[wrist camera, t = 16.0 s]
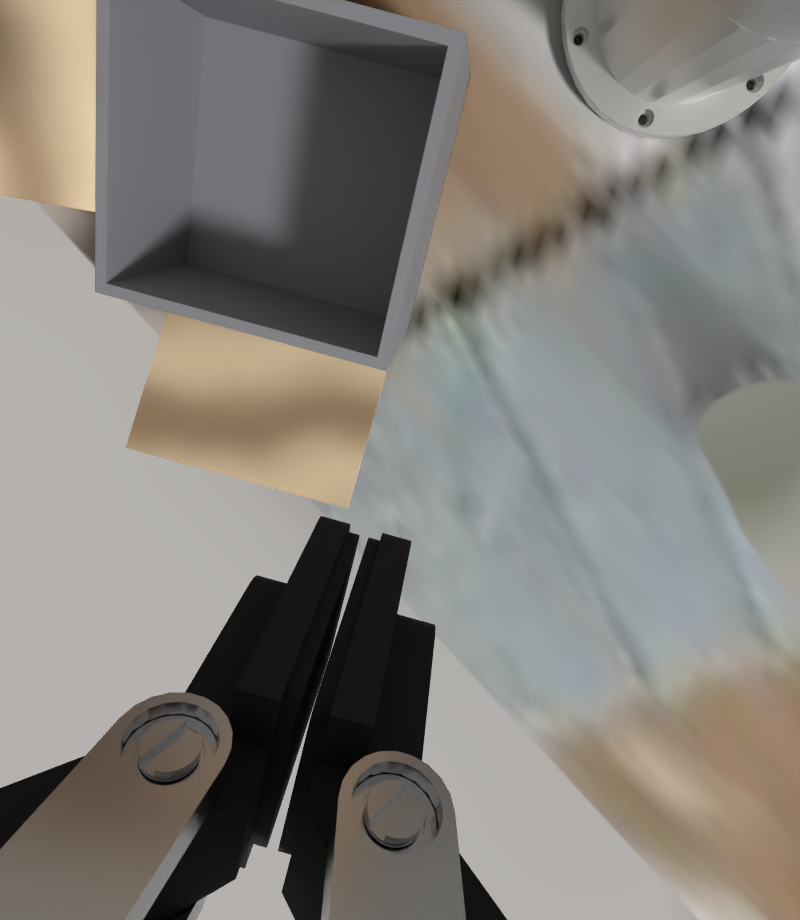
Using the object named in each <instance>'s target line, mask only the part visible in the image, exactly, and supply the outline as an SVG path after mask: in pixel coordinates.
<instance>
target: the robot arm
mask: <svg viewBox="0 0 800 920" xmlns="http://www.w3.org/2000/svg"><path fill="white" fill-rule="evenodd" d="M561 25H562V43H563V48H564V53H565V58H566V63H567V66H568V69H569V71H570V74H571V76H572V79H573V81H574V84H575V86H576V88H577V89H578V91H579V92H580V94H581V95H582V97H583V98H584V100H585V101H586V103H587V104H588V106H590V107H591V108H592V109H593V110H594V111H595V112H596V113H597V114H598V115H599V116H600V117H601V118H602V119H603V120H604V121H606V122H608V123H609V124H611V125H613V126H614V127H616V128H618V129H619V130H621V131H624V132H627V133H630V134H633V135H636V136H639V137H644V138H655V139H669V138H678V137H686V136H689V135H692V134H697V133H701V132H703V131H706V130H708V129H711V128H713V127H716V126H718V125H720V124H723V123H725V122H727V121H728V120H730V119H731V118H733V117H735V116H736V115H738V114H739V113H741V112H743V111H744V110H746V109H747V108H749V107H750V106H751V105H752V104H753V103H755V102H756V101H757V100H758V99H759V98H761V97H762V96H763V95H764V94H765V93H766V92H767V91H768V90H769V89H770V88H771V87H772V85H773V84H774V83H775V82H776V81H777V80H778V78H779V77H780V76H781V75H782V74H783V73H784V72H785V70H786V69H787V68H788V66H789V65H790V63H791V62H794V61H796V60H799V59H800V0H563V3H562V11H561ZM576 35H580V36H581V37H582V39H583V40H582V44H580V45H576V44H574V37H575V36H576ZM748 80H750V81H752V83H753V86H752V88H751V90H747V88H746V83H747V81H748ZM640 115H644V116H646V123H645V124H644V125H641V124H639V122H638V119H639V117H640ZM349 530H350V524H348V523H344V522H341V521H337V520H333V519H330V518H326V517H323V516H322V517H320V518H319V520H318V522H317V524H316V526H315V528H314V530H313V532H312V534H311V536H310V539H309V540H308V542H307V544H306V546H305V548H304V550H303V552H302V554H301V556H300V558H299V560H298V562H297V564H296V567H295V569H294V571H293V572H292V575H291V576H290V579H289V581H288V583H287V584H286V583H283V582H279V581H275V580H272V579H268V578H264V577H261V576H255V577H254V578H253V580H252V581H251V582H250V584H249V586H248V587H247V589H246V591H245V592H244V594H243V596H242V598H241V599H240V601H239V602H238V604H237V606H236V608H235V609H234V611H233V613H232V614H231V616H230V618H229V619H228V621H227V623H226V625H225V626H224V628H223V630H222V631H221V633H220V635H219V636H218V638H217V640H216V641H215V643H214V645H213V646H212V648H211V650H210V652H209V653H208V655H207V657H206V658H205V660H204V662H203V663H202V665H201V667H200V668H199V670H198V672H197V674H196V675H195V677H194V679H193V680H192V682H191V684H190V685H189V687H188V689H187V690H186V692H185V693H166V694H162V695H158V696H154V697H151V698H149V699H147V700H145V701H143V702H140V703H138V704H137V705H135V706H133V707H132V708H131V709H130V710H129V711H127V712H126V713H125V714H124V715H123V716H121V717H120V718H119V719H118V720H117V722H116V723H115V724H114V725H113V726H112V727H111V728H110V729H109V730H108V732H107V733H106V734H105V735H104V736H103V737H102V738H101V739H100V740H99V741H98V742H97V744H96V745H95V746H94V747H93V748H92V749H91V750H90V751H89V753H88V754H87V755H86V756H83V757H81V758H78V759H75V760H73V761H70V762H67V763H65V764H62V765H60V766H57V767H54V768H52V769H49V770H47V771H44V772H42V773H39V774H36V775H34V776H31V777H28V778H26V779H23V780H21V781H18V782H15V783H13V784H10V785H8V786H5V787H2V788H0V920H196V919H197V917H198V915H199V913H200V911H201V910H202V907H203V904H204V901H205V899H206V897H207V895H209V894H210V893H212V892H214V891H216V890H217V889H219V888H221V887H223V886H224V885H226V884H227V883H229V882H231V881H233V880H234V879H236V876H237V873H238V871H239V868H240V867H242V868H245V866H246V863H247V860H248V858H249V855H250V852H251V849H252V846H253V844H256V845H259V846H263V847H267V845H268V842H269V839H270V837H271V833H272V830H273V827H274V824H275V821H276V818H277V815H278V812H279V809H280V806H281V803H282V800H283V797H284V794H285V791H286V788H287V785H288V782H289V779H290V775H291V773H292V769H293V766H294V763H295V760H296V757H297V754H298V751H299V748H300V745H301V742H302V738H303V736H304V733H305V729H306V727H307V724H308V720H309V717H310V714H311V711H312V708H313V705H314V702H315V699H316V702H315V705H314V708H313V712H312V715H311V719H310V723H309V727H308V731H307V735H306V739H305V743H304V747H303V751H302V756H301V759H300V763H299V767H298V771H297V775H296V780H295V784H294V788H293V792H292V796H291V800H290V804H289V808H288V812H287V817H286V820H285V824H284V829H283V833H282V837H281V841H280V845H279V849H278V851H280V852H284V853H287V854H291V859H290V863H289V867H288V871H287V874H286V878H285V882H284V886H283V889H282V893H283V896H284V898H285V900H286V902H287V904H288V906H289V908H290V910H291V912H292V914H293V916H294V918H295V920H507V919H506V917H505V916H504V915H503V914H502V912H501V911H500V909H499V908H498V906H497V905H496V904H495V902H494V901H493V900H492V898H491V897H490V895H489V894H488V892H487V891H486V890H485V888H484V887H483V885H482V884H481V883H480V881H479V880H478V878H477V877H476V876H475V874H474V873H473V872H472V870H471V869H470V867H469V866H468V864H467V863H466V862H465V861H464V859H463V858H462V856H461V855H460V853H459V847H458V838H457V828H456V819H455V811H454V807H453V803H452V799H451V795H450V793H449V791H448V790H447V788H446V786H445V784H444V782H443V781H442V779H441V778H440V776H439V775H438V774H437V773H435V771H434V770H433V769H432V768H431V767H430V766H429V765H427V764H426V763H424V762H422V754H423V744H424V735H425V725H426V716H427V706H428V696H429V687H430V678H431V668H432V659H433V649H434V640H435V625H434V624H430V623H427V622H423V621H419V620H416V619H412V618H409V617H405V616H401V615H398V614H397V611H398V606H399V601H400V596H401V591H402V586H403V581H404V576H405V571H406V566H407V561H408V556H409V551H410V546H411V541H409V540H406V539H402V538H399V537H395V536H391V535H388V534H384V533H382V536H381V540H380V541H379V540H375V539H372V538H368V541H367V544H366V547H365V550H364V553H363V557H362V560H361V563H360V566H359V569H358V572H357V575H356V578H355V581H354V584H353V588H352V590H351V593H350V597H349V599H348V603H347V606H346V609H345V612H344V615H343V618H342V621H341V624H340V627H339V630H338V633H337V636H336V639H335V642H334V645H333V641H334V637H335V633H336V628H337V624H338V620H339V617H340V613H341V609H342V605H343V601H344V597H345V593H346V589H347V584H348V581H349V576H350V572H351V568H352V564H353V560H354V556H355V552H356V548H357V544H358V540H359V535H357V534H354V533H350V532H349ZM332 645H333V648H332ZM331 649H332V652H331ZM330 652H331V655H330ZM329 656H330V658H329ZM328 659H329V661H328ZM327 662H328V664H327ZM326 666H327V667H326ZM325 668H326V670H325ZM324 672H325V673H324ZM323 675H324V676H323ZM322 678H323V679H322ZM321 681H322V682H321ZM320 684H321V685H320ZM319 687H320V688H319ZM318 690H319V691H318ZM317 693H318V695H317ZM316 696H317V698H316Z"/></svg>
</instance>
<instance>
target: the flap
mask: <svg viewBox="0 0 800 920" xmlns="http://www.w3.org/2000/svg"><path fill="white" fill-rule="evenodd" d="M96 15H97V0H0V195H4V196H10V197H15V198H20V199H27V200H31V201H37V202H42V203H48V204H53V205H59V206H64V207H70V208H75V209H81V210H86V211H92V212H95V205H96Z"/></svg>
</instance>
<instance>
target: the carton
mask: <svg viewBox="0 0 800 920" xmlns="http://www.w3.org/2000/svg"><path fill="white" fill-rule="evenodd" d="M469 79H470V68H469V57H468V47H467V37H466V32H462V31H459V30H455V29H451V28H447V27H444V26H440V25H436V24H432V23H428V22H425V21H421V20H417V19H413V18H409V17H406V16H402V15H398V14H394V13H390V12H387V11H383V10H379V9H375V8H371V7H368V6H364V5H360V4H356V3H353V2H349V1H345V0H97V15H96V205H95V292H98V293H101V294H105V295H109V296H112V297H116V298H120V299H123V300H127V301H130V302H134V303H138V304H141V305H145V306H149V307H152V308H156V309H160V310H163V311H167V312H171V313H174V314H178V315H182V316H186V317H189V318H193V319H197V320H200V321H204V322H208V323H211V324H215V325H219V326H222V327H226V328H230V329H233V330H237V331H241V332H244V333H248V334H252V335H255V336H259V337H263V338H266V339H270V340H274V341H277V342H281V343H285V344H288V345H292V346H296V347H299V348H303V349H307V350H310V351H314V352H318V353H321V354H325V355H329V356H332V357H336V358H340V359H343V360H347V361H351V362H354V363H358V364H362V365H365V366H369V367H373V368H377V369H380V370H384V371H386V370H387V368H388V366H389V364H390V362H391V360H392V358H393V357H394V355H395V353H396V351H397V349H398V347H399V345H400V343H401V342H402V340H403V338H404V336H405V334H406V332H407V330H408V326H409V322H410V318H411V314H412V310H413V306H414V302H415V298H416V294H417V290H418V286H419V282H420V278H421V274H422V270H423V266H424V261H425V257H426V253H427V249H428V245H429V241H430V237H431V233H432V229H433V225H434V221H435V217H436V213H437V209H438V205H439V201H440V197H441V192H442V188H443V184H444V180H445V176H446V172H447V168H448V164H449V160H450V156H451V152H452V148H453V144H454V140H455V136H456V132H457V128H458V123H459V119H460V115H461V111H462V107H463V103H464V99H465V95H466V91H467V87H468V83H469Z"/></svg>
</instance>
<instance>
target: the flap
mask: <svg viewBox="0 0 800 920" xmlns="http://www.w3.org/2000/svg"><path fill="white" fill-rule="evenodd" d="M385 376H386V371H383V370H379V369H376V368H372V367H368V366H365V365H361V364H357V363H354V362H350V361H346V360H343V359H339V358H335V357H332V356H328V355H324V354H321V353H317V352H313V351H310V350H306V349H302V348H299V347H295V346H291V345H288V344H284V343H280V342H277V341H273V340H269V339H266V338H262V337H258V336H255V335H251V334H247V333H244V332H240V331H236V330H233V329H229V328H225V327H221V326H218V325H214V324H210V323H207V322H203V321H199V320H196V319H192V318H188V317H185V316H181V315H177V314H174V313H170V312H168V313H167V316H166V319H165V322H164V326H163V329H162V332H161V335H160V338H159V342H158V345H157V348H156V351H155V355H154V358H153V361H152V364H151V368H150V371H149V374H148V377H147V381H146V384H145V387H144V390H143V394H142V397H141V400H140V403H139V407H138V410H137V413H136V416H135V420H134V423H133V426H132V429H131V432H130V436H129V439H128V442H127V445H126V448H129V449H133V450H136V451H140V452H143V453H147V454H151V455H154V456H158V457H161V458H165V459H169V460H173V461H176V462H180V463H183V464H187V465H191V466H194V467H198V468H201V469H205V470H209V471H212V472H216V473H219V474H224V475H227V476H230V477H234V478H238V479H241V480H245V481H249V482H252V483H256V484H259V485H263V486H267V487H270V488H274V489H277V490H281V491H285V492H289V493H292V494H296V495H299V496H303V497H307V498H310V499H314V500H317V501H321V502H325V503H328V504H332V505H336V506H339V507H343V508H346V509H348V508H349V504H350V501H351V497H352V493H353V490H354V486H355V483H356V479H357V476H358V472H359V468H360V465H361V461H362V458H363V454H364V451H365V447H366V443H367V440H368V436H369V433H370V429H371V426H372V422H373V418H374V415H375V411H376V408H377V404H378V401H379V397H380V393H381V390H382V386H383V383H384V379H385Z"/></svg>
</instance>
